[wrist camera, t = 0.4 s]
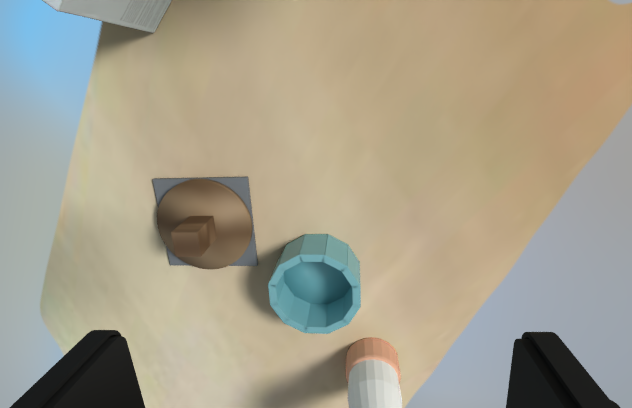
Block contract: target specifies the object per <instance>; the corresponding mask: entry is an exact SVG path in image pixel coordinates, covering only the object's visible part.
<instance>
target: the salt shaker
mask: <svg viewBox="0 0 632 408" xmlns="http://www.w3.org/2000/svg"><path fill="white" fill-rule="evenodd" d="M346 379H347V383H348V404H349V408H402V398H401V392H400V386H399V384H400V380H401V375H400V369H399V362H398V356H397V352H396V351H395V349H394V347H393V346H391V345H390V344H389V343H388V342H386V341H383V340H381V339H376V338H365V339H362V340H359V341H357V342H355V343H354V344H353V345H351V347H350V348H349V350H348V351H347V356H346Z"/></svg>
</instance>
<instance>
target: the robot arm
mask: <svg viewBox="0 0 632 408" xmlns="http://www.w3.org/2000/svg"><path fill="white" fill-rule="evenodd" d="M10 408H145V405H144V402H143V398H142V394H141V391H140V387H139V384H138V380H137V377H136V373H135V369H134V366H133V362H132V359H131V355H130V352H129V348H128V345H127V341H126V339H125V338H124V337H122V336H121V334H120V333H119V332H118V331H116V330H94V331H91V332H89V333H88V334H87V335H86V336H85V337H84V338H83V339H82V340H80V341H79V342H78V343H77V344H76V345H75V346H74V347H73V348H72V349H71V350H70V351H69V352H68V353H67V354H66V355H65V356H64V357H63V358H62V359H61V360H59V361H58V362H57V363H56V364H55V365H54V366H53V367H52V368H51V369H50V370H49V371H48V372H47V373H46V374H45V375H44V376H43V377H42V378H40V379H39V380H38V381H37V382H36V383H35V384H34V385H33V386H32V387H31V388H30V389H29V390H28V391H27V392H26V393H25V394H24V395H23V396H22V397H20V398H19V399H18V400H17V401H16V402H15V403H14V404H13V405H12V406H11V407H10ZM506 408H620V407H619V406H618V405H617V404H616V403H615V402H613V401H611V400H609V398H608V397H607V396H606V395H605V394H604V392H603V391H602V390H601V388H600V387H599V386H598V385H597V384H596V382H595V381H594V380H593V379H592V377H591V376H590V375H589V374H588V372H587V371H586V370H585V369H584V367H583V366H582V365H581V364H580V363H579V361H578V360H577V359H576V358H575V356H574V355H573V354H572V353H571V351H570V350H569V349H568V348H567V346H566V345H565V344H564V343H563V342H562V340H561V339H560V338H559V337H558V336H557V335H556V334H555V333H553V332H525V333H524V334H523V335H522V339H516V340H515V342H514V348H513V356H512V364H511V372H510V380H509V389H508V397H507V405H506Z"/></svg>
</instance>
